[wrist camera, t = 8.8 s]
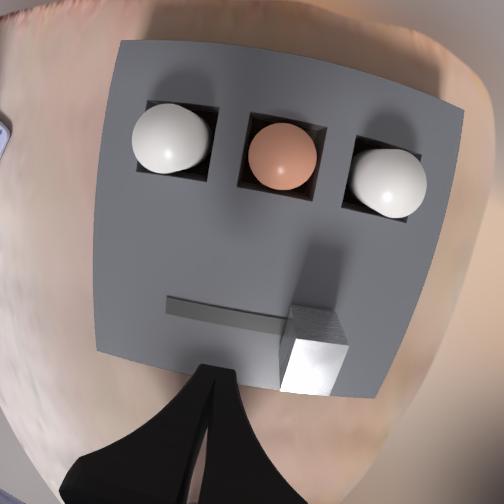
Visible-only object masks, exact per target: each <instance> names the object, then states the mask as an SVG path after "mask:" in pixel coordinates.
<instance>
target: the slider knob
mask: <svg viewBox="0 0 504 504" xmlns="http://www.w3.org/2000/svg"><path fill="white" fill-rule="evenodd" d="M348 348H349V344H348V341H347V338H346V336H345V333H344V331H343V328H342V326H341V323H340V321H339V318H338V316H337V313H336V312H334V311H328V310H321V309H315V308H309V307H302V306H296V305H291V307H290V311H289V315H288V318H287V322H286V326H285V330H284V334H283V337H282V341H281V345H280V348H279V352H278V355H279V377H280V391H286V392H294V393H303V394H313V395H323V396H329V395H330V392H331V390H332V388H333V385H334V383H335V381H336V378H337V376H338V373H339V371H340V368H341V366H342V363H343V361H344V358H345V356H346V353H347V350H348Z"/></svg>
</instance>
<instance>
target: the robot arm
mask: <svg viewBox="0 0 504 504" xmlns="http://www.w3.org/2000/svg"><path fill="white" fill-rule="evenodd" d="M1 130H2V133H1ZM9 137H10V131H9V129H8V128H7V127H6V126H5V125H4V124H3V123H2V122H1V121H0V158H1V156H2V153H3V151H4V149H5V147H6V144H7V142H8V140H9ZM207 427H208V430H207ZM206 430H207V443H206V457H205V468H204V473H203V478H202V484H201V489H200V494H199V499H198V504H308V503H307V502H306V501H305V500H304V499H303V498H302V497H301V496H300V495H299V494H298V493H297V492H296V491H295V490H294V489H293V488H292V487H291V486H290V485H289V484H288V482H287V481H286V480H285V479H284V478H283V477H282V475H281V474H280V473H279V471H278V470H277V469H276V467H275V466H274V465H273V463H272V462H271V461H270V459H269V458H268V456H267V455H266V453H265V451H264V450H263V448H262V447H261V445H260V443H259V441H258V439H257V437H256V436H255V434H254V431H253V429H252V427H251V425H250V422H249V420H248V418H247V415H246V412H245V410H244V407H243V403H242V400H241V397H240V393H239V389H238V384H237V376H236V371H235V370H234V369H229V368H223V367H218V366H213V365H207V364H200V365H199V366H198V367H197V369H196V371H195V372H194V374H193V375H192V377H191V378H190V380H189V381H188V382H187V383H186V385H185V386H184V387H183V388H182V389H181V391H180V392H179V393H178V394H177V395H176V396H175V397H174V398H173V399H172V400H171V401H170V402H169V403H168V404H167V405H166V406H165V407H164V408H163V409H162V410H161V411H160V412H159V413H158V414H156V415H155V416H154V417H153V418H152V419H150V420H149V421H148V422H146V423H145V424H144V425H142V426H141V427H139V428H138V429H136V430H135V431H133V432H132V433H130V434H129V435H127V436H125V437H124V438H122V439H120V440H118V441H116V442H114V443H112V444H110V445H108V446H106V447H104V448H102V449H99V450H97V451H94V452H92V453H89V454H87V455H84V456H81V457H79V458H78V459H77V460H76V462H75V463H74V464H73V465H72V467H71V468H70V470H69V471H68V472H67V474H66V476H65V478H64V480H63V482H62V484H61V486H60V489H59V493H60V496H61V498H62V500H63V501H64V503H65V504H187V500H188V495H189V490H190V485H191V480H192V476H193V472H194V468H195V465H196V462H197V459H198V455H199V452H200V449H201V446H202V443H203V440H204V436H205V433H206ZM0 504H25V503H24V502H22V501H20V500H18V499H17V498H15V497H13V496H12V495H10V494H8V493H7V492H5V491H4V490H2V489H0Z"/></svg>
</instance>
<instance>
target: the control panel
mask: <svg viewBox="0 0 504 504" xmlns="http://www.w3.org/2000/svg"><path fill="white" fill-rule="evenodd" d="M160 104H175V105H179V106H181V107H183V108H185V109H190V110H199V111H207V112H215V113H219V115H218V120H217V126H216V131H215V137H214V142H213V148H212V154H211V160H210V166H209V172H208V176H205V175H199V174H192V173H186V172H179V171H176V172H171V173H156V172H153V171H150V170H148V169H147V168H145V167H144V166H143V165H142V164H141V163H140V162H139V161H138V159H137V158H136V156H135V154H134V151H133V147H132V134H133V130H134V127H135V125H136V122H137V121H138V119H139V118H140V117H141V116H142V114H143V113H145V112H146V111H147V110H148V109H150V108H152V107H154V106H156V105H160ZM253 118H255V119H260V120H266V121H272V122H277V123H287V124H292V125H295V126H297V127H302V128H306V129H311V130H315V131H318V132H317V137H316V142H315V149H316V154H317V160H316V165H315V168H314V171H313V173H312V174H311V176H310V177H309V179H308V182H307V187H306V192H305V194H304V193H299V192H294V191H289V190H277V189H273V188H270V187H268V186H263V185H258V184H252V183H247V182H241V180H242V174H243V169H244V163H245V158H246V152H247V147H248V141H249V136H250V130H251V125H252V120H253ZM463 118H464V110H463V109H461V108H459V107H456V106H454V105H452V104H450V103H447V102H445V101H443V100H441V99H438V98H436V97H433V96H431V95H429V94H426V93H424V92H421V91H418V90H416V89H413V88H411V87H408V86H405V85H402V84H400V83H397V82H394V81H391V80H388V79H385V78H382V77H379V76H376V75H373V74H370V73H366V72H363V71H360V70H356V69H353V68H349V67H346V66H342V65H338V64H334V63H330V62H326V61H322V60H318V59H313V58H309V57H304V56H300V55H295V54H289V53H284V52H279V51H273V50H267V49H261V48H254V47H247V46H239V45H230V44H221V43H210V42H196V41H177V40H121V43H120V47H119V51H118V55H117V59H116V63H115V68H114V72H113V77H112V81H111V86H110V91H109V97H108V102H107V108H106V113H105V119H104V126H103V133H102V140H101V147H100V155H99V164H98V174H97V184H96V197H95V212H94V234H93V298H94V319H95V335H96V347H97V351H100V352H103V353H107V354H110V355H113V356H117V357H120V358H124V359H127V360H131V361H135V362H138V363H142V364H146V365H150V366H154V367H158V368H162V369H166V370H170V371H175V372H179V373H183V374H188V375H193V374H194V372H195V371H196V369H197V367H198V366H199V365H200V364H207V365H213V366H218V367H223V368H229V369H234V370H235V371H236V376H237V384H240V385H246V386H253V387H259V388H266V389H273V390H280V377H279V355H278V352H279V348H280V345H281V341H282V337H283V334H284V330H285V326H286V322H287V318H288V315H289V311H290V307H291V305H296V306H302V307H309V308H315V309H321V310H328V311H334V312H336V313H337V316H338V318H339V321H340V323H341V326H342V328H343V331H344V333H345V336H346V338H347V341H348V344H349V348H348V350H347V353H346V356H345V358H344V361H343V363H342V366H341V368H340V371H339V373H338V376H337V378H336V381H335V383H334V385H333V388H332V390H331V392H330V395H329V396H339V397H354V398H374V399H375V397H376V395H377V393H378V391H379V389H380V387H381V385H382V383H383V381H384V379H385V377H386V375H387V373H388V371H389V369H390V367H391V364H392V362H393V360H394V358H395V356H396V353H397V351H398V349H399V347H400V344H401V342H402V340H403V337H404V335H405V333H406V330H407V328H408V325H409V323H410V320H411V318H412V315H413V313H414V310H415V307H416V305H417V302H418V299H419V297H420V294H421V291H422V288H423V286H424V283H425V280H426V277H427V274H428V271H429V268H430V265H431V262H432V258H433V255H434V252H435V249H436V245H437V242H438V238H439V235H440V231H441V228H442V224H443V220H444V216H445V213H446V209H447V204H448V200H449V196H450V192H451V187H452V182H453V178H454V173H455V168H456V162H457V157H458V151H459V145H460V139H461V132H462V125H463ZM355 140H356V141H360V142H363V143H367V144H370V145H374V146H377V147H381V148H384V149H399V150H404V151H406V152H409V153H410V154H412V155H413V156H415V157H416V158H417V159H418V161H419V162H420V163H421V165H422V167H423V169H424V171H425V174H426V180H427V188H426V193H425V197H424V199H423V201H422V203H421V205H420V206H419V207H418V208H417V209H416V210H415V211H414V212H413V213H411V214H410V215H408V216H405V217H402V218H390V217H387V216H384V215H382V214H381V213H379V212H377V211H375V210H374V209H371V208H367V207H363V206H359V205H354V204H350V203H346V202H342V201H343V196H344V192H345V187H346V183H347V178H348V173H349V169H350V164H351V159H352V154H353V149H354V143H355Z"/></svg>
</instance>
